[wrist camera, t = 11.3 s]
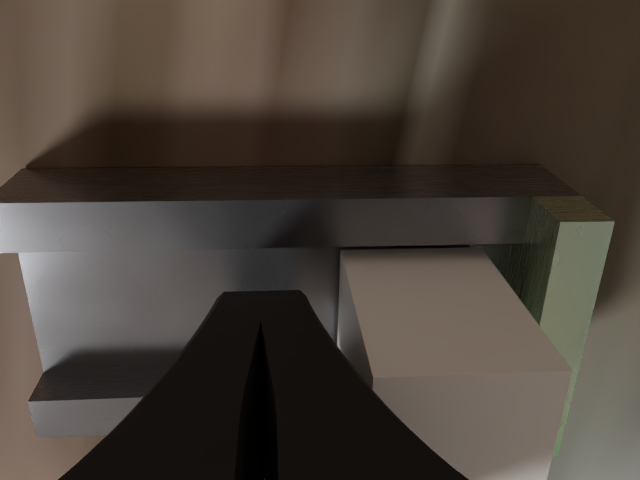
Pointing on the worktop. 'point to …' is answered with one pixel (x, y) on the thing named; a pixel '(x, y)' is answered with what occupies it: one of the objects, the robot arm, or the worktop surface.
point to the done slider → (454, 357)
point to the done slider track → (263, 258)
